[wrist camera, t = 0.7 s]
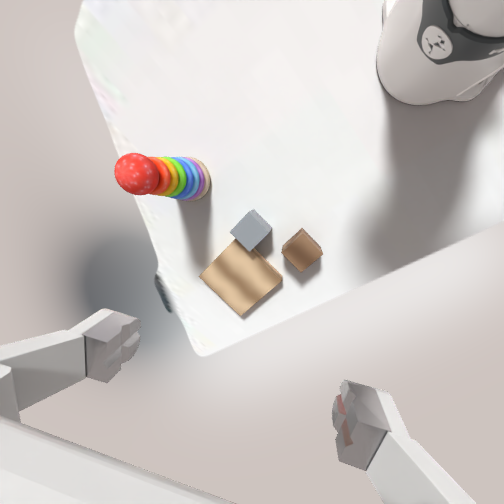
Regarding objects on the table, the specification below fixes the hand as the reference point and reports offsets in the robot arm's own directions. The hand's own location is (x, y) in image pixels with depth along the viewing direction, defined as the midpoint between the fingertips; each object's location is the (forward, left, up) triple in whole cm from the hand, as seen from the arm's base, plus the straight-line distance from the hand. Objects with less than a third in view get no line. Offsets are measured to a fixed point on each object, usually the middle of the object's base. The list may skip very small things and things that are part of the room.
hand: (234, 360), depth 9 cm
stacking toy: (+7, -18, -37) cm, 42 cm away
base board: (+14, +2, -37) cm, 40 cm away
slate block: (+5, -3, -37) cm, 38 cm away
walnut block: (+1, +6, -37) cm, 38 cm away
